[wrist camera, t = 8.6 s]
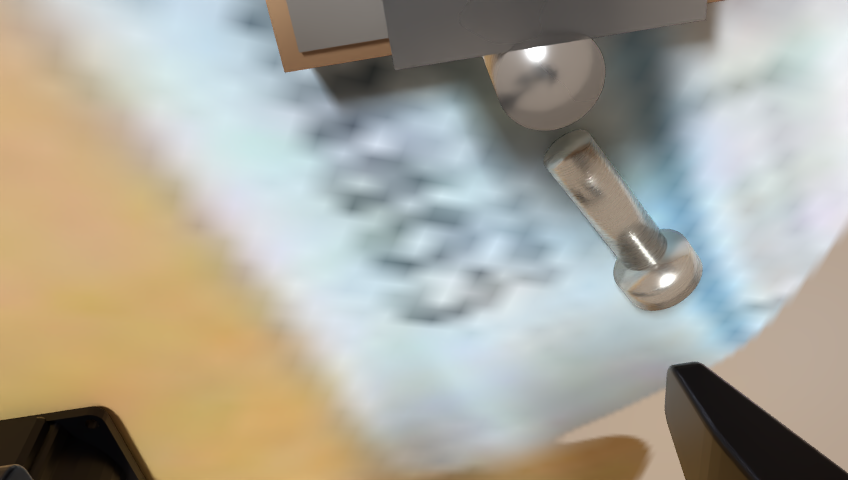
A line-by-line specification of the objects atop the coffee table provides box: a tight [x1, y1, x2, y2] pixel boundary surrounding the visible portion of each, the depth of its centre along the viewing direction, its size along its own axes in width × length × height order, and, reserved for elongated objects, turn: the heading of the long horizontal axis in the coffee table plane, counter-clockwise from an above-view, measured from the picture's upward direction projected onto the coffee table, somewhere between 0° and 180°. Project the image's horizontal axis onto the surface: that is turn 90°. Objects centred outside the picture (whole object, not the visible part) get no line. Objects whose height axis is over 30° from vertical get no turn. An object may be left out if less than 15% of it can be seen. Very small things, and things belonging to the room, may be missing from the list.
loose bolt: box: [543, 130, 702, 311], centre depth 22 cm, size 6×3×3 cm, turn 38°
